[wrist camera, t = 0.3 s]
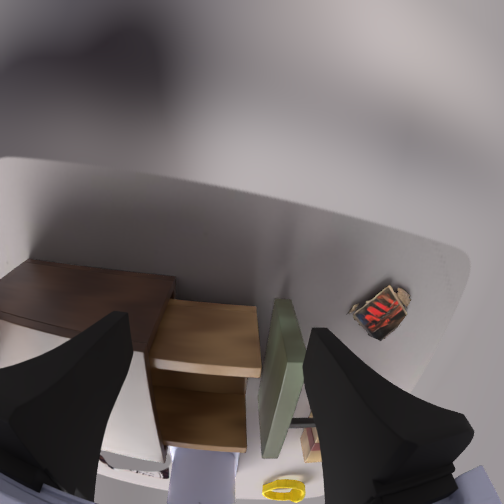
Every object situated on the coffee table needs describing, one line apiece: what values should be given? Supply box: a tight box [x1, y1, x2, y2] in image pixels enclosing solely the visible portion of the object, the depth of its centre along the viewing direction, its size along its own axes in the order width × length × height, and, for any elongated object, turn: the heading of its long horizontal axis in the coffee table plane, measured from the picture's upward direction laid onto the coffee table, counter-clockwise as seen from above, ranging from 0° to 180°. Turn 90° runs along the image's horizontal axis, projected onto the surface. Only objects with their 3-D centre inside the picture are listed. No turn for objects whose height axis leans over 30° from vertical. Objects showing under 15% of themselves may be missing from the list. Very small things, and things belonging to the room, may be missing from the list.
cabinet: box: [0, 259, 176, 463], centre depth 18 cm, size 13×11×8 cm
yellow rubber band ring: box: [262, 479, 306, 502], centre depth 32 cm, size 6×3×6 cm
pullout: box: [148, 298, 316, 459], centre depth 19 cm, size 17×10×7 cm, turn 84°
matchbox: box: [347, 285, 411, 341], centre depth 22 cm, size 5×5×1 cm
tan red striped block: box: [300, 412, 322, 463], centre depth 26 cm, size 7×3×4 cm, turn 174°
